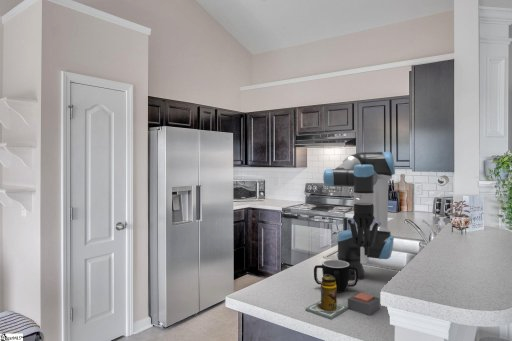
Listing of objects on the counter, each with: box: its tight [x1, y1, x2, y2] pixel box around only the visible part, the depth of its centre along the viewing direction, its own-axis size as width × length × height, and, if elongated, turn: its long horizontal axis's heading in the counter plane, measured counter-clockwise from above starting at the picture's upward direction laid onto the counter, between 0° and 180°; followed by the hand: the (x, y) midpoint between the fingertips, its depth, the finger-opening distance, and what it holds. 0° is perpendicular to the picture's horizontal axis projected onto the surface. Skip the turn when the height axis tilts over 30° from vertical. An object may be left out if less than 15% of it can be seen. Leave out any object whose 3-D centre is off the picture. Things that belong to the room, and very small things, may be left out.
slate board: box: [305, 300, 349, 320], centre depth 135 cm, size 13×12×1 cm
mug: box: [313, 259, 359, 293], centre depth 157 cm, size 16×16×12 cm
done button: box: [354, 292, 374, 303], centre depth 136 cm, size 5×5×3 cm
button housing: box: [347, 292, 381, 316], centre depth 136 cm, size 9×9×4 cm
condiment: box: [314, 276, 338, 312], centre depth 135 cm, size 7×8×12 cm
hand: (363, 262), depth 136 cm, fingers closed
